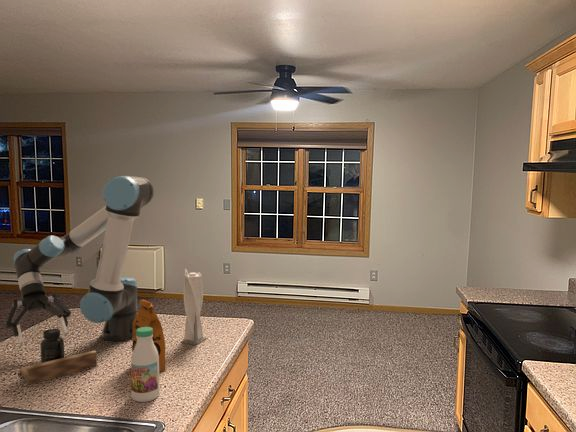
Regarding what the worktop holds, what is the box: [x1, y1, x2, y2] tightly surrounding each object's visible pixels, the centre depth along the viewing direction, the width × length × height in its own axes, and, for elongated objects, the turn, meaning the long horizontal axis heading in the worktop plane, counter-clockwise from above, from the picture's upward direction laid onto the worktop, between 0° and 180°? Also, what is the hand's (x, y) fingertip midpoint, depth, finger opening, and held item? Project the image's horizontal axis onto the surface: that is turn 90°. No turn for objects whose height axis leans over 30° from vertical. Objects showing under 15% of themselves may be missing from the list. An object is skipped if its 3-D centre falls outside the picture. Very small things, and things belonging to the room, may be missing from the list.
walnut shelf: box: [19, 350, 98, 385], centre depth 145 cm, size 20×12×5 cm, turn 131°
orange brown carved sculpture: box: [131, 299, 167, 373], centre depth 147 cm, size 10×12×22 cm
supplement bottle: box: [39, 328, 66, 363], centre depth 144 cm, size 7×7×12 cm
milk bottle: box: [130, 327, 160, 403], centre depth 127 cm, size 8×8×20 cm
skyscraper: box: [180, 268, 207, 346], centre depth 172 cm, size 8×8×28 cm
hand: (44, 339), depth 151 cm, fingers open, 13 cm apart
